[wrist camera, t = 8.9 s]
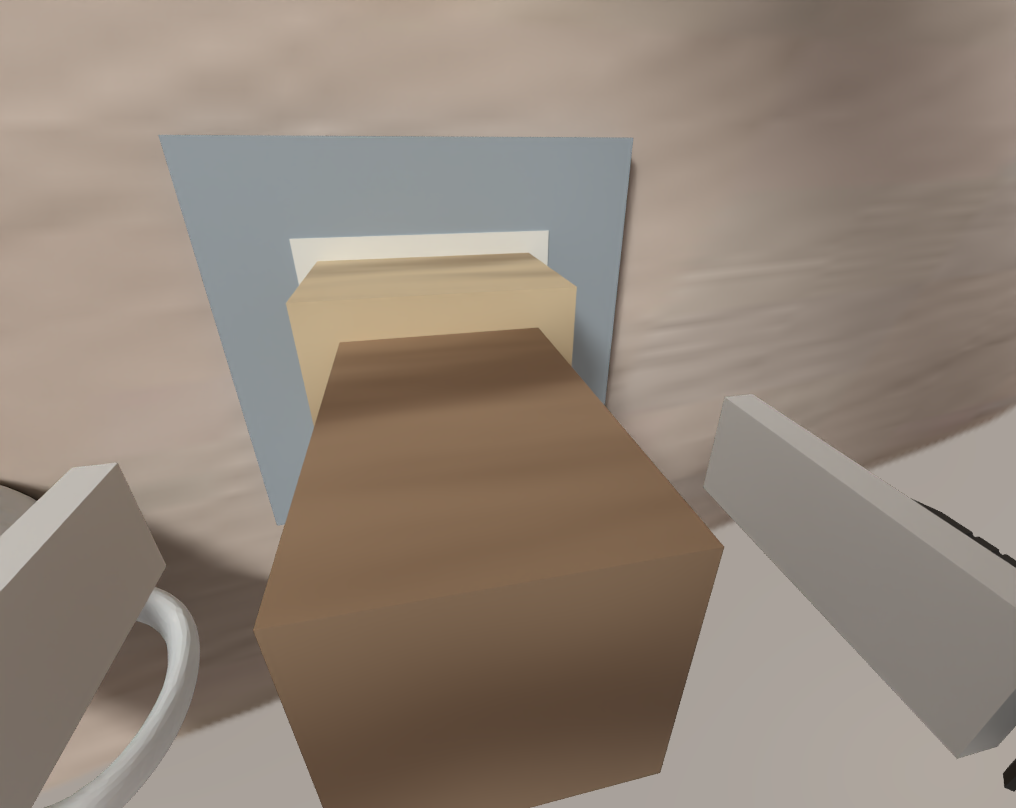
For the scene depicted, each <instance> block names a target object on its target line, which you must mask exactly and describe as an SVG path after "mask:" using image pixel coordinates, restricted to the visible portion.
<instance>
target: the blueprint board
mask: <svg viewBox="0 0 1016 808" xmlns="http://www.w3.org/2000/svg"><path fill="white" fill-rule="evenodd" d="M159 139H160V142H161V145H162V148H163V152H164V155H165V158H166V162H167V165H168V168H169V171H170V175H171V178H172V181H173V185H174V188H175V191H176V194H177V198H178V201H179V204H180V208H181V211H182V214H183V217H184V221H185V224H186V227H187V231H188V234H189V237H190V240H191V244H192V247H193V250H194V254H195V257H196V260H197V264H198V267H199V270H200V273H201V277H202V280H203V283H204V287H205V290H206V293H207V296H208V300H209V303H210V306H211V310H212V313H213V316H214V319H215V323H216V326H217V329H218V333H219V336H220V339H221V342H222V346H223V349H224V352H225V356H226V359H227V362H228V365H229V369H230V372H231V375H232V379H233V382H234V385H235V388H236V392H237V395H238V398H239V402H240V405H241V408H242V411H243V415H244V418H245V421H246V425H247V428H248V431H249V435H250V438H251V441H252V444H253V448H254V451H255V454H256V458H257V461H258V464H259V467H260V471H261V474H262V477H263V481H264V484H265V487H266V490H267V494H268V497H269V500H270V504H271V507H272V510H273V513H274V517H275V520H276V523H277V525H284V524H285V522H286V519H287V516H288V512H289V509H290V506H291V502H292V499H293V496H294V492H295V489H296V486H297V482H298V479H299V476H300V472H301V469H302V466H303V462H304V459H305V456H306V452H307V449H308V446H309V442H310V439H311V436H312V432H313V429H314V425H313V421H312V416H311V412H310V408H309V403H308V399H307V394H306V390H305V386H304V381H303V377H302V372H301V368H300V364H299V359H298V355H297V350H296V346H295V342H294V337H293V333H292V328H291V324H290V320H289V315H288V311H287V306H286V302H287V301H288V299H289V298H290V297H291V295H292V294H293V293H294V291H295V290H296V289H297V287H298V286H299V285H300V283H301V282H302V281H303V279H304V278H305V277H306V276H307V274H308V273H309V272H310V270H311V269H312V268H313V266H314V265H315V264H316V262H317V261H336V260H360V259H385V258H409V257H433V256H458V255H482V254H507V253H530V254H531V255H533V256H534V257H536V258H537V259H538V260H540V261H541V262H543V263H544V264H545V265H547V266H548V267H550V268H551V269H552V270H554V271H555V272H557V273H558V274H560V275H561V276H562V277H564V278H565V279H567V280H568V281H569V282H571V283H572V284H574V285H575V286H576V287H577V293H576V308H575V323H574V338H573V353H572V368H573V369H574V370H575V371H576V372H577V374H578V375H579V376H580V377H581V378H582V380H583V381H584V382H585V383H586V384H587V385H588V387H589V388H590V389H591V390H592V391H593V393H594V394H595V395H596V396H597V397H598V398H599V400H600V401H601V402H602V403H603V404H604V406H605V398H606V389H607V379H608V370H609V361H610V351H611V342H612V332H613V323H614V314H615V304H616V295H617V286H618V276H619V267H620V257H621V248H622V239H623V229H624V220H625V211H626V201H627V192H628V182H629V173H630V164H631V154H632V145H633V138H586V137H416V136H246V135H159Z"/></svg>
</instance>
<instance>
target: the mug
mask: <svg viewBox="0 0 1016 808" xmlns="http://www.w3.org/2000/svg"><path fill="white" fill-rule="evenodd" d="M36 502H37V501H36V500H35V499H33V498H31V497H29V496H27V495H25V494H23V493H20V492H18V491H16V490H13V489H10V488H8V487H5V486H2V485H0V536H1V535H2V534H3V533H4V532H5V531H6V530H7V529H9V528H10V527H11V526H12V525H13V524H14V523H15V522H16V521H17V520H18V519H19V518H20V517H21V516H22V515H23V514H24V513H25V512H26V511H27V510H28V509H29V508H30V507H31V506H32V505H34V504H35V503H36ZM136 621H138V622H142V623H144V624H147V625H149V626H151V627H153V628H154V629H155V630H157V631H158V632H159V633H160V634H161V635H162V637H163V639H164V640H165V642H166V645H167V651H168V669H167V674H166V678H165V682H164V685H163V688H162V690H161V692H160V695H159V697H158V699H157V701H156V703H155V705H154V707H153V709H152V711H151V712H150V714H149V716H148V717H147V719H146V721H145V722H144V724H143V726H142V727H141V729H140V730H139V731H138V733H137V734H136V735H135V737H134V738H133V739H132V741H131V742H130V743H129V745H128V746H127V747H126V748H125V749H124V751H123V752H122V753H121V754H120V755H119V756H118V757H117V758H116V759H115V761H114V762H113V763H112V764H111V765H110V766H109V767H108V768H107V769H105V770H104V771H103V772H102V773H101V774H100V775H99V776H97V777H96V778H95V779H94V780H93V781H91V782H90V783H88V784H87V785H85V786H84V787H83V788H81V789H80V790H78V791H77V792H76V793H74V794H73V795H71V796H70V797H67V798H66V799H64V800H62V801H60V802H57V803H55V804H53V805H51V806H48V807H45V808H122V807H124V805H125V804H126V803H127V802H128V801H129V800H130V799H131V798H132V797H133V796H134V795H135V794H136V793H137V792H138V790H139V789H140V788H141V787H142V785H143V784H144V783H145V782H146V781H147V779H148V778H149V777H150V776H151V774H152V773H153V772H154V770H155V769H156V768H157V766H158V765H159V763H160V762H161V760H162V759H163V757H164V756H165V754H166V753H167V751H168V750H169V748H170V746H171V745H172V743H173V741H174V739H175V738H176V736H177V733H178V731H179V729H180V727H181V725H182V723H183V721H184V719H185V716H186V714H187V711H188V709H189V706H190V703H191V700H192V697H193V694H194V690H195V686H196V682H197V676H198V670H199V661H200V642H199V635H198V630H197V626H196V624H195V622H194V619H193V617H192V615H191V613H190V612H189V610H188V609H187V607H186V606H185V605H184V604H183V603H182V602H181V601H180V600H178V599H177V598H176V597H175V596H173V595H172V594H170V593H169V592H166V591H164V590H162V589H160V588H157V587H155V588H154V590H153V591H152V593H151V595H150V597H149V598H148V600H147V602H146V604H145V606H144V607H143V609H142V611H141V613H140V615H139V616H138V618H137V620H136Z"/></svg>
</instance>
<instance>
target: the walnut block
mask: <svg viewBox="0 0 1016 808" xmlns="http://www.w3.org/2000/svg"><path fill="white" fill-rule="evenodd" d="M723 549H724V546H723V545H722V544H721V543H720V542H719V540H718V539H717V538H716V537H715V536H714V534H713V533H712V532H711V531H710V530H709V528H708V527H707V526H706V525H705V524H704V523H703V521H702V520H701V519H700V518H699V517H698V515H697V514H696V513H695V512H694V511H693V510H692V508H691V507H690V506H689V505H688V504H687V502H686V501H685V500H684V499H683V498H682V497H681V495H680V494H679V493H678V492H677V491H676V489H675V488H674V487H673V486H672V485H671V484H670V482H669V481H668V480H667V479H666V478H665V476H664V475H663V474H662V473H661V472H660V471H659V469H658V468H657V467H656V466H655V465H654V463H653V462H652V461H651V460H650V459H649V458H648V456H647V455H646V454H645V453H644V452H643V450H642V449H641V448H640V447H639V446H638V445H637V443H636V442H635V441H634V440H633V439H632V437H631V436H630V435H629V434H628V433H627V432H626V430H625V429H624V428H623V427H622V426H621V424H620V423H619V422H618V421H617V420H616V419H615V417H614V416H613V415H612V414H611V413H610V411H609V410H608V409H607V408H606V407H605V406H604V404H603V403H602V402H601V401H600V400H599V398H598V397H597V396H596V395H595V394H594V393H593V391H592V390H591V389H590V388H589V387H588V385H587V384H586V383H585V382H584V381H583V380H582V378H581V377H580V376H579V375H578V374H577V372H576V371H575V370H574V369H573V368H572V367H571V365H570V364H569V363H568V362H567V361H566V359H565V358H564V357H563V356H562V355H561V354H560V352H559V351H558V350H557V349H556V348H555V346H554V345H553V344H552V343H551V342H550V341H549V339H548V338H547V337H546V336H545V335H544V333H543V332H542V331H541V330H540V329H539V328H525V329H511V330H498V331H485V332H471V333H458V334H445V335H431V336H418V337H405V338H391V339H378V340H365V341H351V342H340V343H339V346H338V349H337V352H336V356H335V359H334V362H333V366H332V369H331V372H330V376H329V379H328V382H327V386H326V389H325V392H324V396H323V399H322V402H321V406H320V409H319V412H318V416H317V419H316V422H315V426H314V429H313V432H312V436H311V439H310V442H309V446H308V449H307V452H306V456H305V459H304V462H303V466H302V469H301V472H300V476H299V479H298V482H297V486H296V489H295V492H294V496H293V499H292V502H291V506H290V509H289V512H288V516H287V519H286V522H285V526H284V529H283V532H282V535H281V539H280V542H279V545H278V549H277V552H276V555H275V559H274V562H273V565H272V569H271V572H270V575H269V579H268V582H267V585H266V589H265V592H264V595H263V599H262V602H261V605H260V609H259V612H258V615H257V619H256V622H255V625H254V629H253V632H254V634H255V637H256V639H257V642H258V644H259V647H260V649H261V652H262V654H263V657H264V660H265V662H266V665H267V667H268V670H269V672H270V675H271V677H272V680H273V682H274V685H275V687H276V690H277V692H278V695H279V698H280V700H281V703H282V705H283V708H284V710H285V713H286V715H287V718H288V720H289V723H290V725H291V728H292V730H293V733H294V736H295V738H296V741H297V743H298V745H299V748H300V751H301V753H302V756H303V758H304V761H305V763H306V766H307V768H308V771H309V773H310V776H311V779H312V781H313V783H314V786H315V789H316V791H317V794H318V796H319V799H320V801H321V804H322V807H323V808H530V807H535V806H538V805H542V804H545V803H549V802H553V801H557V800H561V799H564V798H568V797H572V796H575V795H579V794H583V793H587V792H590V791H594V790H598V789H602V788H605V787H609V786H613V785H616V784H620V783H623V782H628V781H631V780H635V779H639V778H642V777H646V776H650V775H654V774H658V773H660V772H661V768H662V765H663V761H664V757H665V754H666V750H667V747H668V743H669V740H670V736H671V733H672V729H673V726H674V722H675V719H676V715H677V711H678V708H679V705H680V701H681V698H682V694H683V690H684V687H685V683H686V680H687V676H688V673H689V669H690V666H691V662H692V659H693V655H694V652H695V648H696V645H697V641H698V638H699V634H700V631H701V627H702V623H703V620H704V616H705V613H706V609H707V606H708V602H709V598H710V595H711V592H712V588H713V584H714V581H715V578H716V574H717V570H718V567H719V563H720V559H721V556H722V553H723Z"/></svg>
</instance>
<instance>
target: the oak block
mask: <svg viewBox="0 0 1016 808" xmlns="http://www.w3.org/2000/svg"><path fill="white" fill-rule="evenodd" d="M576 293H577V287H576V286H575V285H574V284H572V283H571V282H569V281H568V280H567V279H565V278H564V277H562V276H561V275H560V274H558V273H557V272H555V271H554V270H552V269H551V268H550V267H548V266H547V265H545V264H544V263H543V262H541V261H540V260H538V259H537V258H536V257H534V256H533V255H531V254H530V253H507V254H482V255H458V256H433V257H409V258H385V259H360V260H336V261H317V262H316V264H315V265H314V266H313V268H312V269H311V270H310V272H309V273H308V274H307V276H306V277H305V278H304V279H303V281H302V282H301V283H300V285H299V286H298V287H297V289H296V290H295V291H294V293H293V294H292V295H291V297H290V298H289V299H288V301H287V302H286V306H287V311H288V315H289V320H290V324H291V328H292V333H293V337H294V342H295V346H296V350H297V355H298V359H299V364H300V368H301V372H302V377H303V381H304V386H305V390H306V394H307V399H308V403H309V408H310V412H311V416H312V421H313V425H314V426H315V422H316V419H317V416H318V412H319V409H320V406H321V402H322V399H323V396H324V392H325V389H326V386H327V382H328V379H329V376H330V372H331V369H332V366H333V362H334V359H335V356H336V352H337V349H338V346H339V343H340V342H351V341H365V340H378V339H391V338H405V337H418V336H431V335H445V334H458V333H471V332H485V331H498V330H511V329H525V328H539V329H540V330H541V331H542V332H543V333H544V335H545V336H546V337H547V338H548V339H549V341H550V342H551V343H552V344H553V345H554V346H555V348H556V349H557V350H558V351H559V352H560V354H561V355H562V356H563V357H564V358H565V359H566V361H567V362H568V363H569V364H570V365H571V367H572V353H573V338H574V323H575V308H576Z"/></svg>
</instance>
